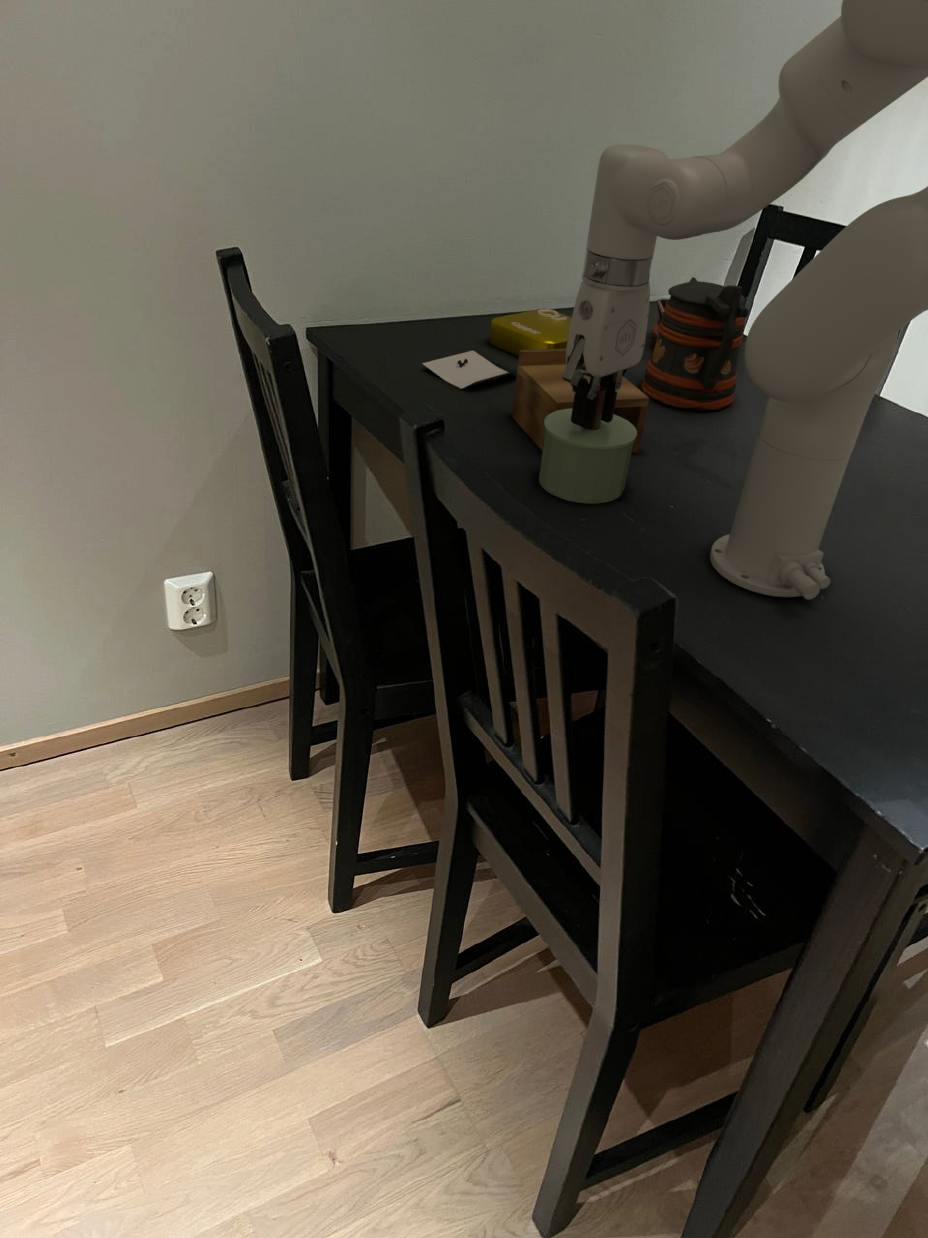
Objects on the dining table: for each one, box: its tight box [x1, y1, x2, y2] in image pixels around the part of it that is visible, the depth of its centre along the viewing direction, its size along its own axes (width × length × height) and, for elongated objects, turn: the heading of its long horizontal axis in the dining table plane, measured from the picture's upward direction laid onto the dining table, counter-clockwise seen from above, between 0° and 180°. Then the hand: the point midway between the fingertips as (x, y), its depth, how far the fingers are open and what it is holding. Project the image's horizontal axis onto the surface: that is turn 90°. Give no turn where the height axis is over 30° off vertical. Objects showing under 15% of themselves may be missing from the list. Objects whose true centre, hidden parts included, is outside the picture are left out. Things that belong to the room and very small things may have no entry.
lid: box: [544, 385, 637, 450], centre depth 113 cm, size 12×12×6 cm
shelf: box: [511, 349, 650, 454], centre depth 129 cm, size 14×14×10 cm
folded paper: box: [421, 350, 517, 390], centre depth 148 cm, size 12×12×2 cm
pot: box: [538, 430, 634, 505], centre depth 116 cm, size 11×11×7 cm
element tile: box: [489, 307, 572, 358], centre depth 161 cm, size 15×15×5 cm
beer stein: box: [641, 276, 749, 412], centre depth 141 cm, size 19×15×20 cm
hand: (591, 420), depth 114 cm, fingers open, 3 cm apart
